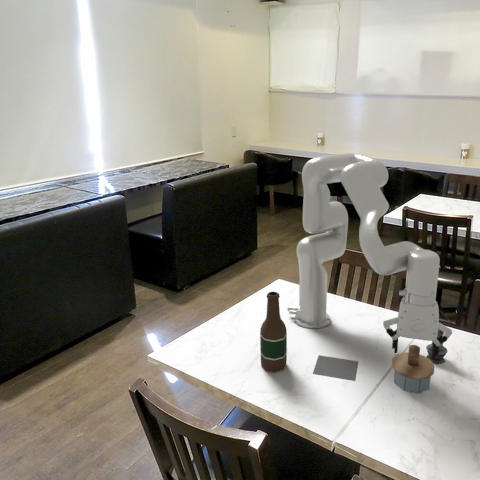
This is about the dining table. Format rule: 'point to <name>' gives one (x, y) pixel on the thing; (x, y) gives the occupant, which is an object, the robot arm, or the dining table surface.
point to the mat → (336, 367)
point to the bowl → (412, 383)
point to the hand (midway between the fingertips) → (414, 353)
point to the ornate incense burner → (441, 352)
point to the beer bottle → (273, 337)
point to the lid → (413, 364)
